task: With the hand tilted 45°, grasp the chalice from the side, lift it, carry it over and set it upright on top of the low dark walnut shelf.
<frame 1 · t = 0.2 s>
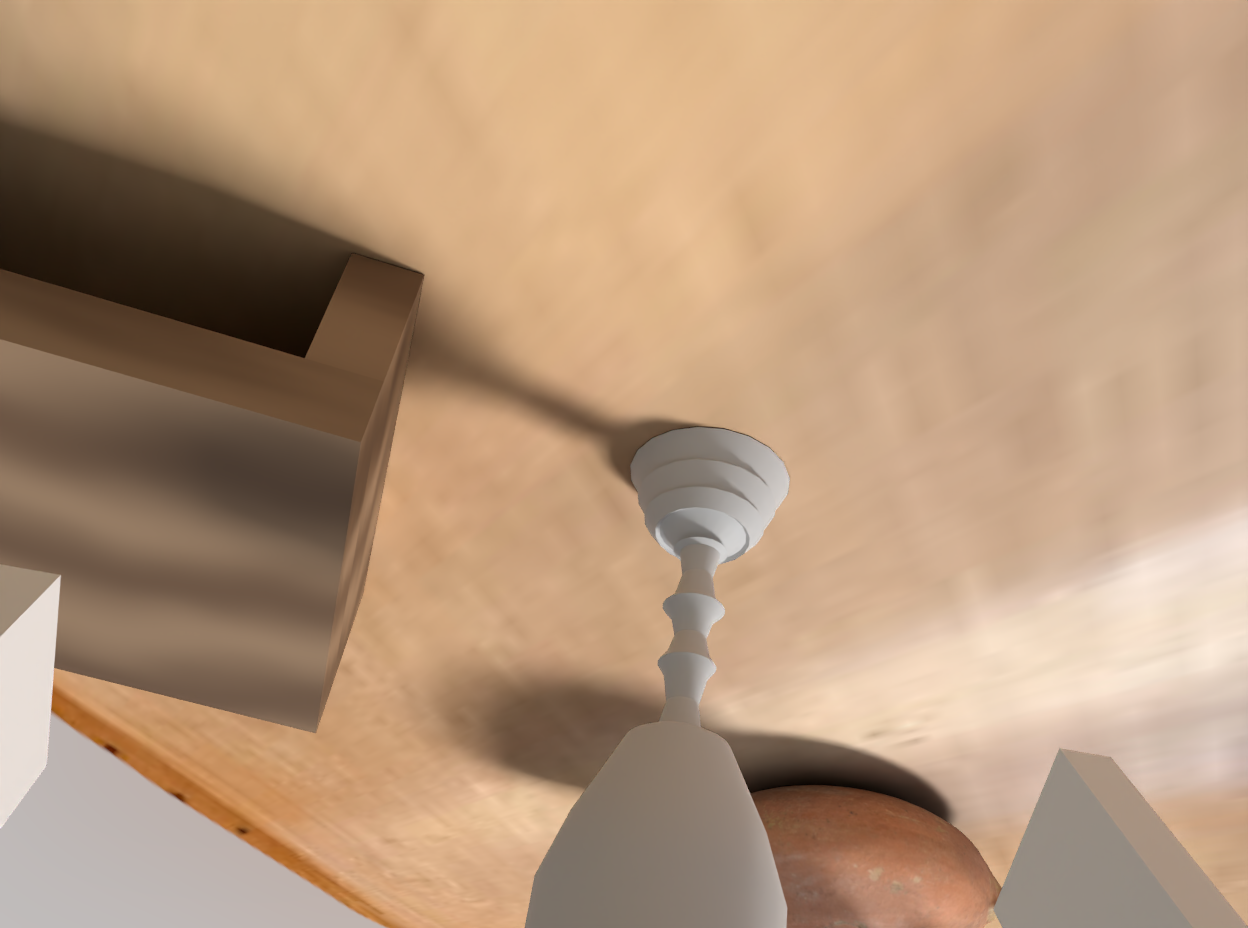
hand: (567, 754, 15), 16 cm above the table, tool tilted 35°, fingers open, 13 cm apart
ceramic jug: (820, 814, 55), on the table
chalice: (709, 474, 36), on the table
walnut shelf: (53, 369, 36), on the table
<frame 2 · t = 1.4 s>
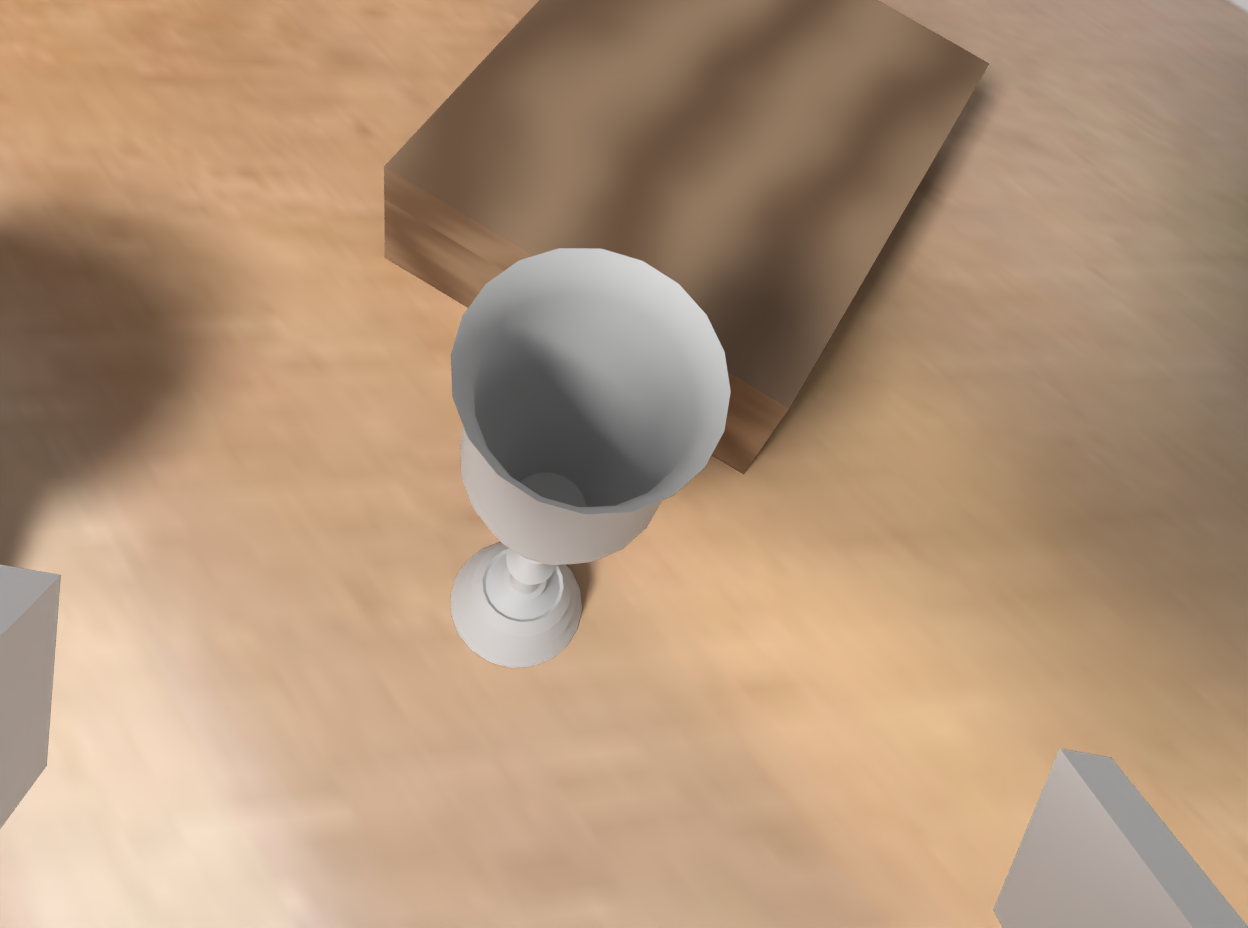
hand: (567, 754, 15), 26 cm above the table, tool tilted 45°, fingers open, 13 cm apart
chalice: (516, 604, 43), on the table
walnut shelf: (681, 199, 52), on the table
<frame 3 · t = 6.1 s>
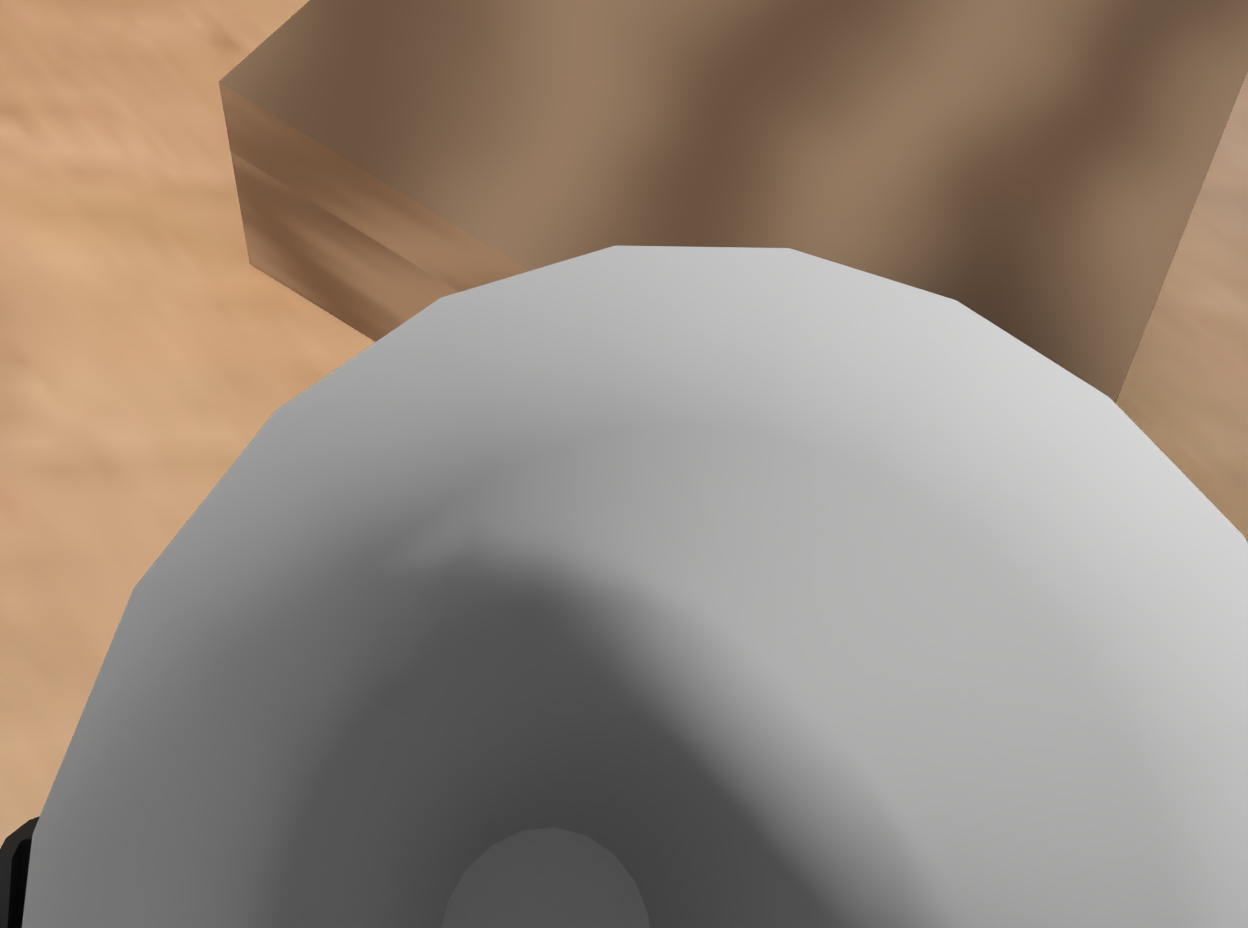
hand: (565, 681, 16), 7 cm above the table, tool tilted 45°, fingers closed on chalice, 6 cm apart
walnut shelf: (771, 169, 31), on the table
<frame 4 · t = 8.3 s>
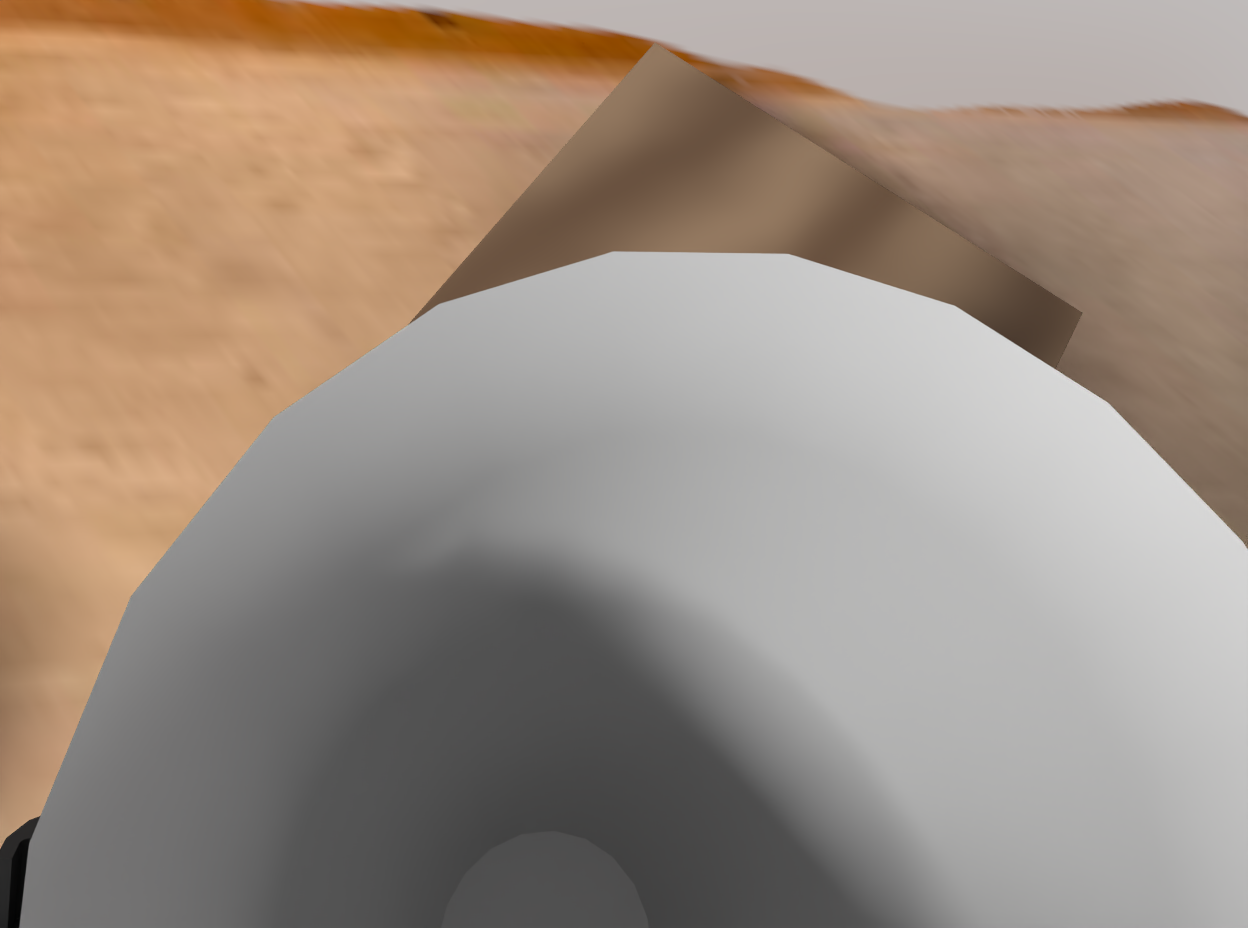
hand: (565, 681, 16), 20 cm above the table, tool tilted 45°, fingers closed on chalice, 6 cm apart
walnut shelf: (673, 470, 40), on the table
when the fingers open (14 cm above the table, at t = 11.0 s): chalice stays where it is, resting on walnut shelf.
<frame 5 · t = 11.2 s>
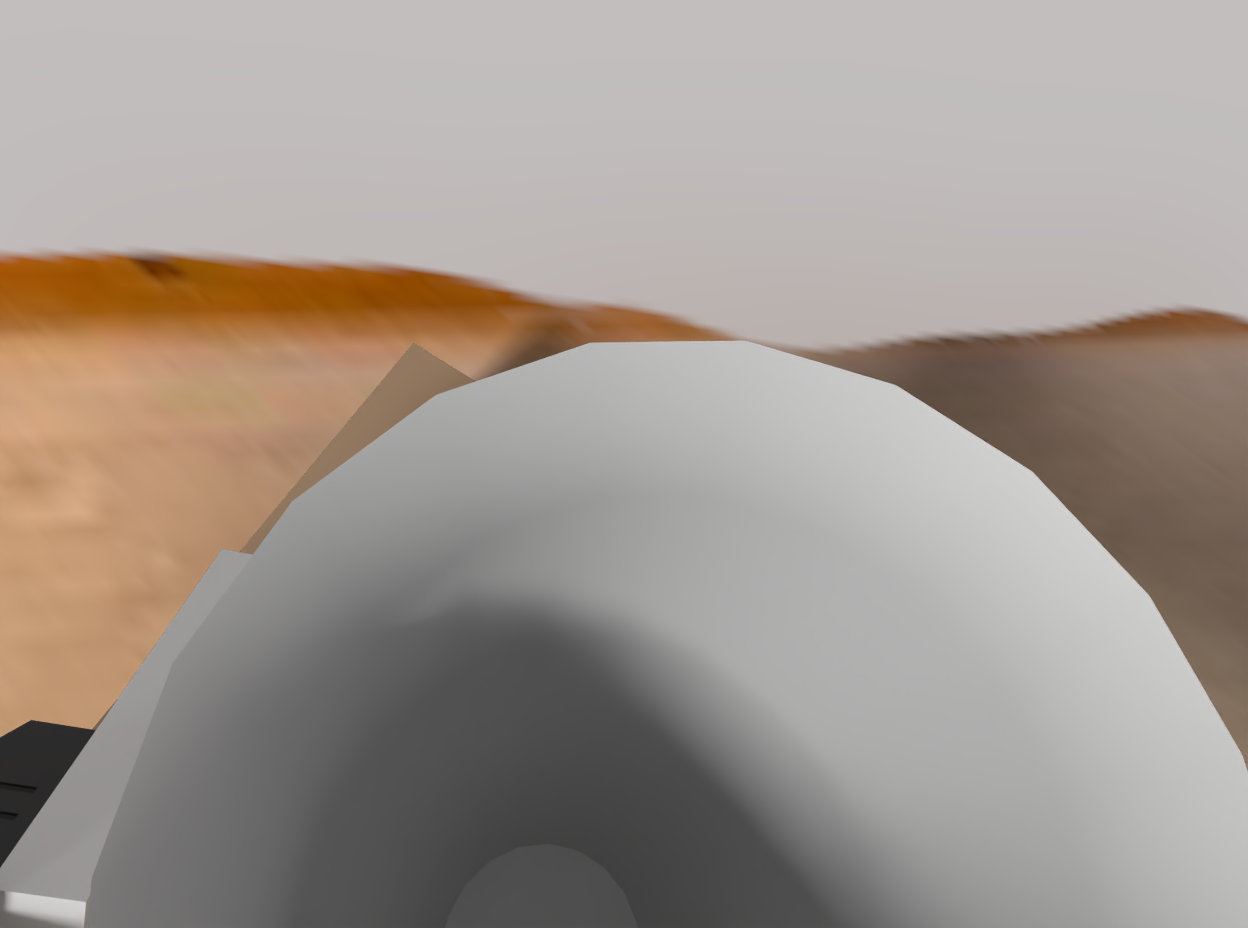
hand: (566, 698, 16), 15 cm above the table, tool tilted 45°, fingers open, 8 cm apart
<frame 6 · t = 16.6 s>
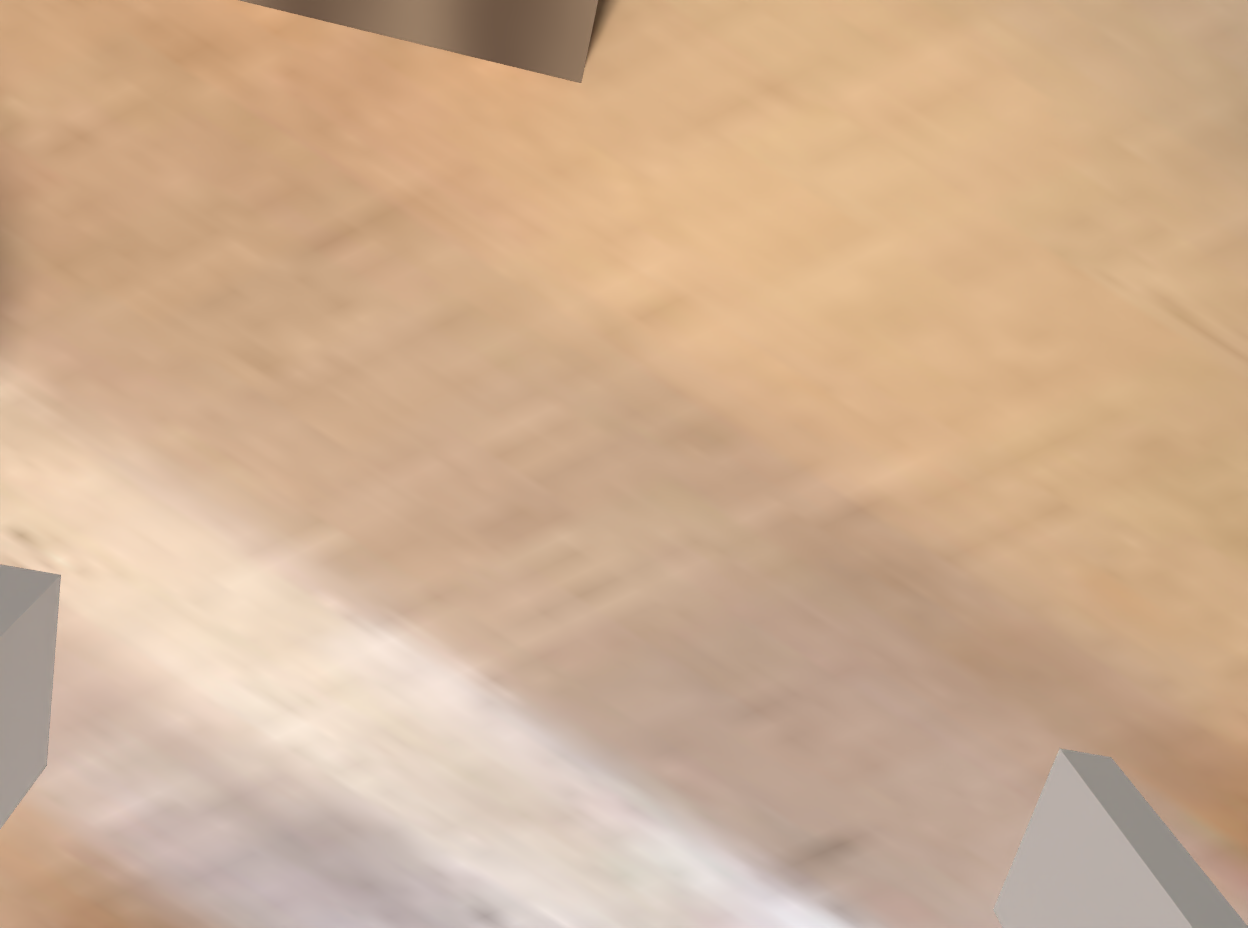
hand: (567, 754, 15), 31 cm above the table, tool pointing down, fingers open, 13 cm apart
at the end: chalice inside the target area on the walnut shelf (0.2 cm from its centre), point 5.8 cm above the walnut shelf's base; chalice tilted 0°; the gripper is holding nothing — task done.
